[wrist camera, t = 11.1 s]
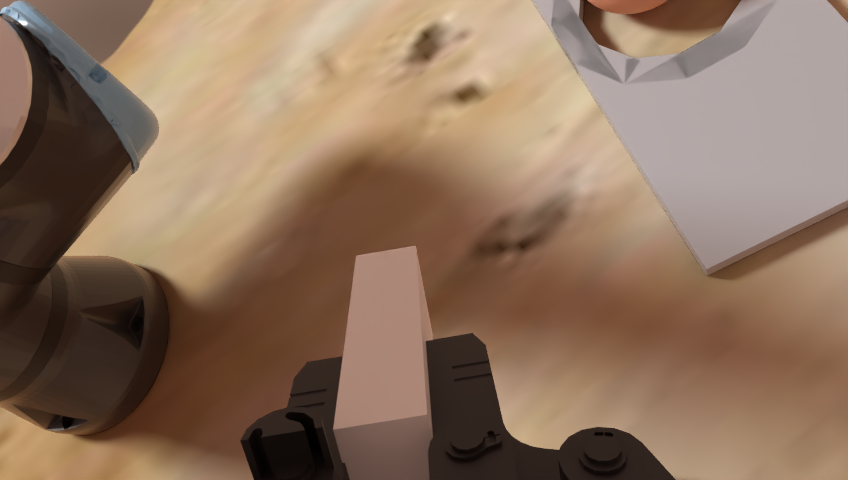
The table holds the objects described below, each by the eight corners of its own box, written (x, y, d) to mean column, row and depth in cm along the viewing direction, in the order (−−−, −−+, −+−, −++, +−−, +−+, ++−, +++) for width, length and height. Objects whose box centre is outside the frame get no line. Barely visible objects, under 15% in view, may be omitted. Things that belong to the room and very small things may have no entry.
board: (953, 155, 38) (961, 144, 37) (706, 276, 41) (706, 269, 40) (702, -118, 50) (701, -134, 49) (525, -10, 53) (520, -22, 52)
